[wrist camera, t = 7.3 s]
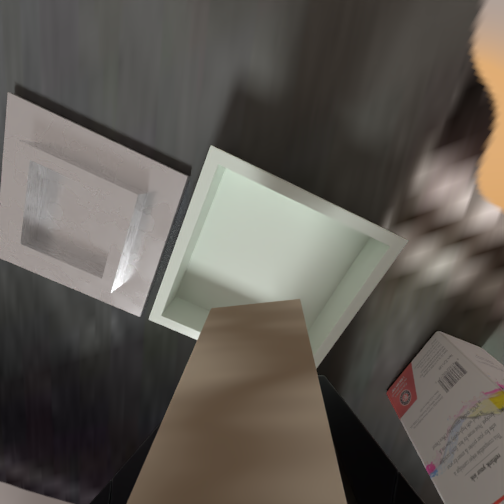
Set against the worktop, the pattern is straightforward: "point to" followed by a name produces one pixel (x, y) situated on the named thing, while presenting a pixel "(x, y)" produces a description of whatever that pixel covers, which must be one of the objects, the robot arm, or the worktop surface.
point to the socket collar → (84, 206)
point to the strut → (245, 418)
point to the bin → (270, 253)
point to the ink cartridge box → (455, 418)
